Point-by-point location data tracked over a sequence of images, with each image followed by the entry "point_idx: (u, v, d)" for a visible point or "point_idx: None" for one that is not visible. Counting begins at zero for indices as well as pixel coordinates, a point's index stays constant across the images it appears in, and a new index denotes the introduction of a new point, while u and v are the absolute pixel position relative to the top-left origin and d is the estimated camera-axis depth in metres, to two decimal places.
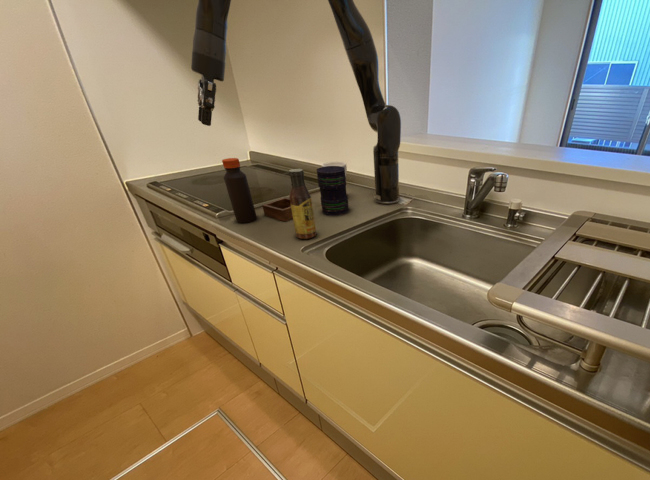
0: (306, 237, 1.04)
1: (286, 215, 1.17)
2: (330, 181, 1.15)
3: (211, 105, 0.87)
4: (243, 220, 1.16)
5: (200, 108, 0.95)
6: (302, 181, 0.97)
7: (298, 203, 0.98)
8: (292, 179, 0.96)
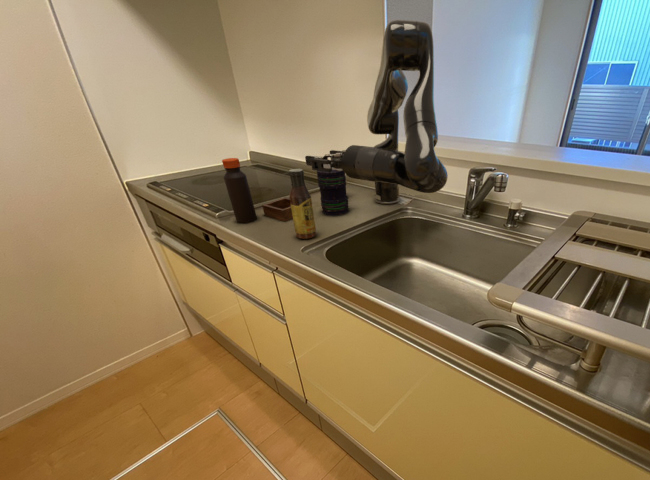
0: (306, 237, 1.04)
1: (286, 215, 1.17)
2: (330, 181, 1.15)
3: None
4: (243, 220, 1.16)
5: None
6: (302, 181, 0.97)
7: (298, 203, 0.98)
8: (292, 179, 0.97)
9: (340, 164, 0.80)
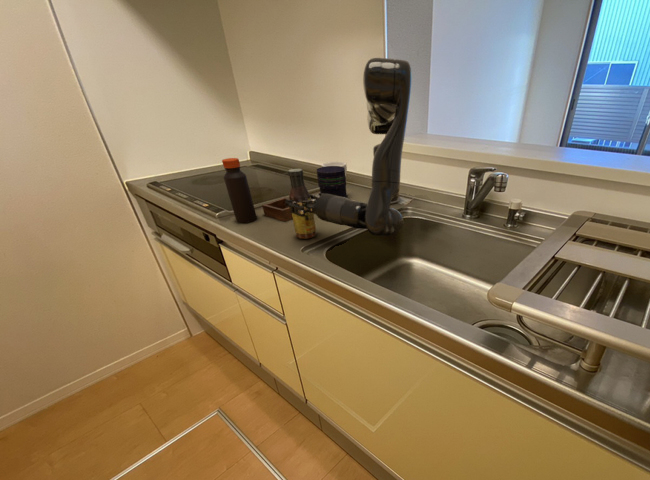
0: (306, 237, 1.04)
1: (286, 215, 1.17)
2: (330, 181, 1.15)
3: None
4: (243, 220, 1.16)
5: None
6: (301, 181, 0.97)
7: None
8: (291, 179, 0.96)
9: (313, 210, 0.94)
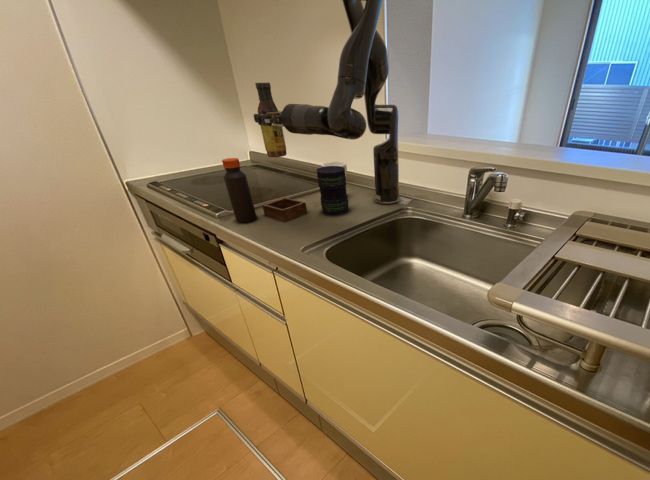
0: (276, 155, 1.06)
1: (286, 215, 1.17)
2: (330, 181, 1.15)
3: None
4: (243, 220, 1.16)
5: None
6: (269, 94, 0.99)
7: None
8: (258, 92, 0.98)
9: (280, 120, 0.96)
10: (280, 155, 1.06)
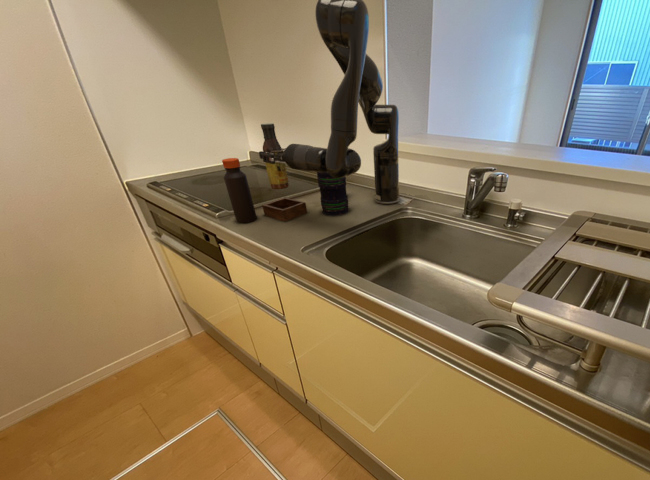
0: (279, 187, 1.15)
1: (286, 215, 1.17)
2: (330, 181, 1.15)
3: None
4: (243, 220, 1.16)
5: None
6: (273, 134, 1.08)
7: None
8: (263, 132, 1.08)
9: (283, 158, 1.05)
10: (283, 187, 1.16)
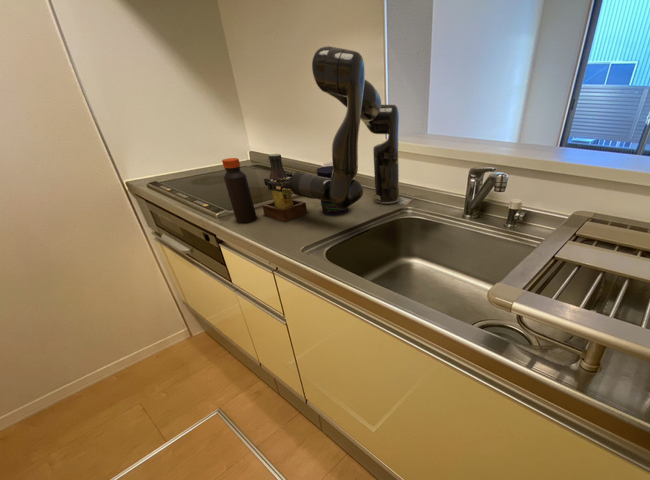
0: None
1: (286, 215, 1.17)
2: None
3: None
4: (243, 220, 1.16)
5: None
6: (280, 164, 1.14)
7: None
8: (271, 163, 1.13)
9: (288, 186, 1.10)
10: None
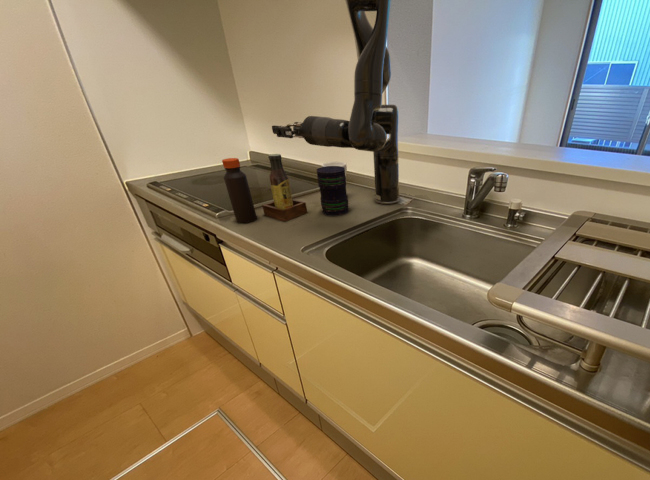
0: None
1: (286, 215, 1.17)
2: (330, 181, 1.15)
3: None
4: (243, 220, 1.16)
5: None
6: (280, 164, 1.14)
7: (277, 183, 1.15)
8: (271, 163, 1.13)
9: (300, 132, 0.97)
10: None
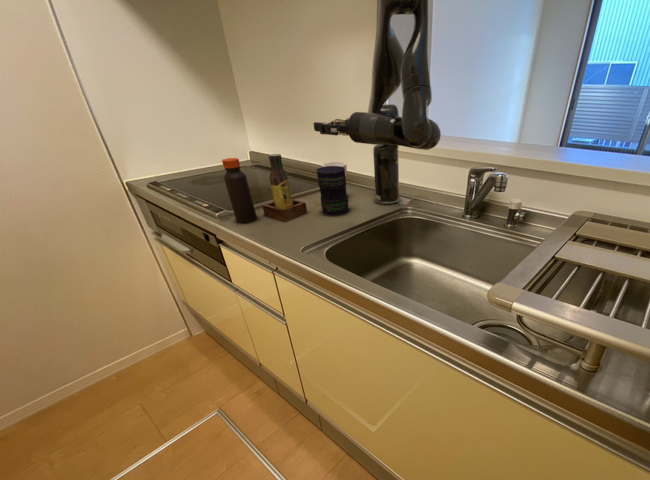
0: None
1: (286, 215, 1.17)
2: (330, 181, 1.15)
3: None
4: (243, 220, 1.16)
5: None
6: (280, 164, 1.14)
7: (277, 183, 1.15)
8: (271, 163, 1.13)
9: (345, 129, 0.91)
10: None
